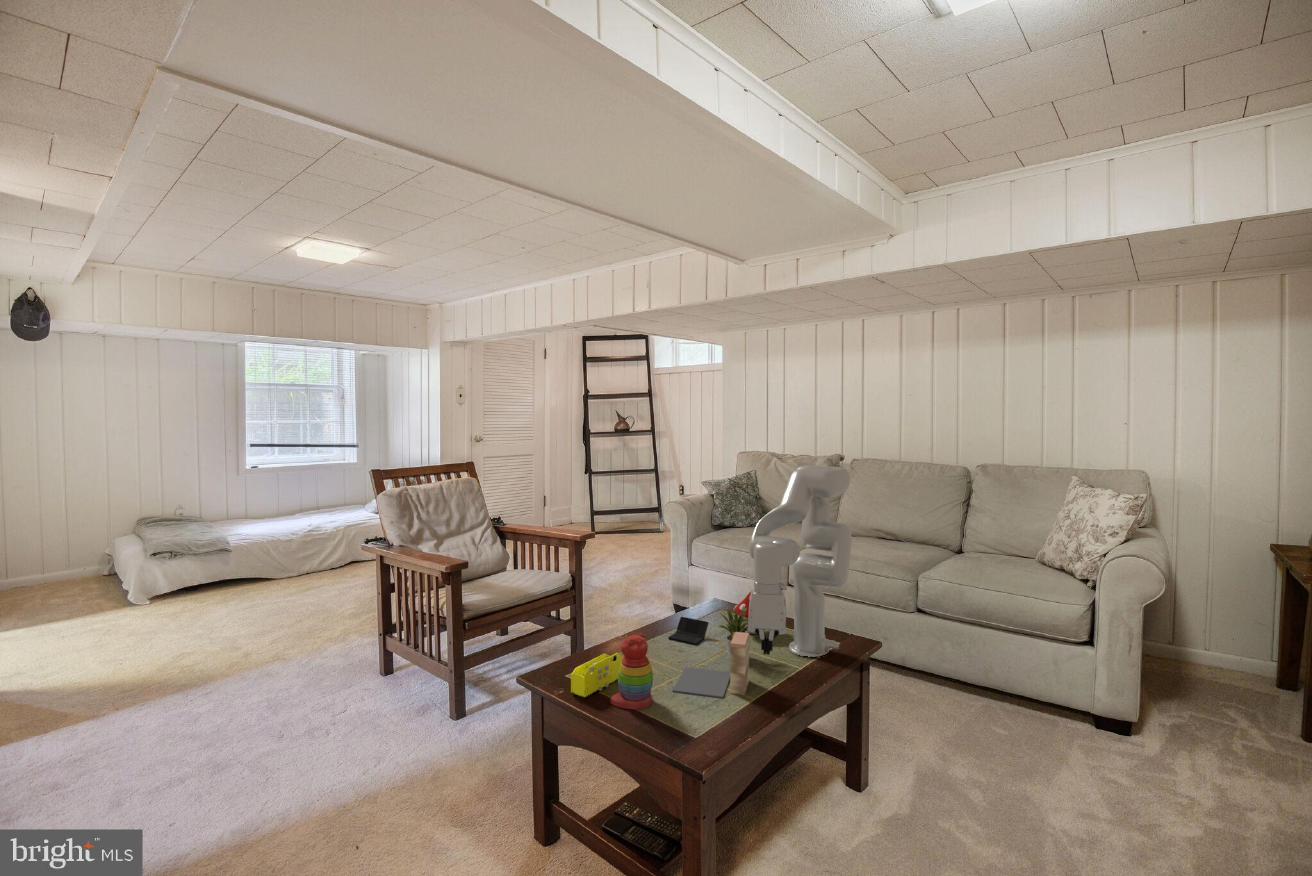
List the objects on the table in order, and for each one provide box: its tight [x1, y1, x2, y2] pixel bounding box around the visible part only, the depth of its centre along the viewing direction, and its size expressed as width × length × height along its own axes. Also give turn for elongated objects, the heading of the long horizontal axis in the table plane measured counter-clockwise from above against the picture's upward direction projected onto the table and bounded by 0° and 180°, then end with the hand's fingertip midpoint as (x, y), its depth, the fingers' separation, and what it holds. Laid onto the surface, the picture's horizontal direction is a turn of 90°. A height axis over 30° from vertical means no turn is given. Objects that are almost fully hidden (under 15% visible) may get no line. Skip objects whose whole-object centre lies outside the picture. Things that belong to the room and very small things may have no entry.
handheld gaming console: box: [668, 616, 709, 647], centre depth 209 cm, size 12×7×10 cm
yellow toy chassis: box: [570, 652, 623, 698], centre depth 172 cm, size 16×6×8 cm, turn 144°
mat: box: [672, 666, 730, 699], centre depth 175 cm, size 14×16×1 cm
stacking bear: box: [609, 633, 654, 710], centre depth 164 cm, size 11×10×18 cm
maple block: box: [729, 632, 750, 696], centre depth 172 cm, size 4×9×14 cm, turn 164°
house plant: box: [717, 606, 757, 659], centre depth 191 cm, size 14×14×16 cm
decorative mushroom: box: [732, 591, 756, 635], centre depth 214 cm, size 14×14×15 cm
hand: (766, 652), depth 170 cm, fingers closed
